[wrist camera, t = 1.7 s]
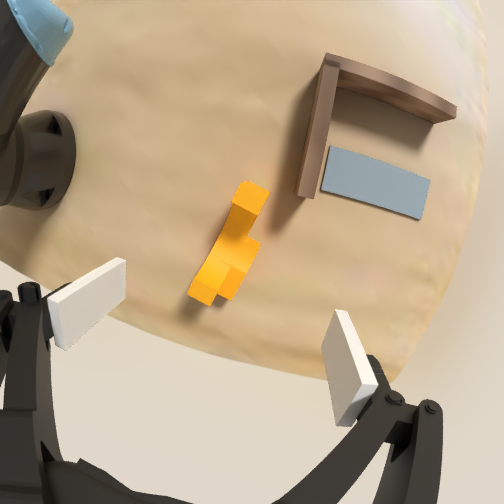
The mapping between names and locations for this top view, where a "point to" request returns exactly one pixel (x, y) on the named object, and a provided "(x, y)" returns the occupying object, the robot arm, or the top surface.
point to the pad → (375, 182)
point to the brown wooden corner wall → (367, 83)
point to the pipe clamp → (231, 248)
